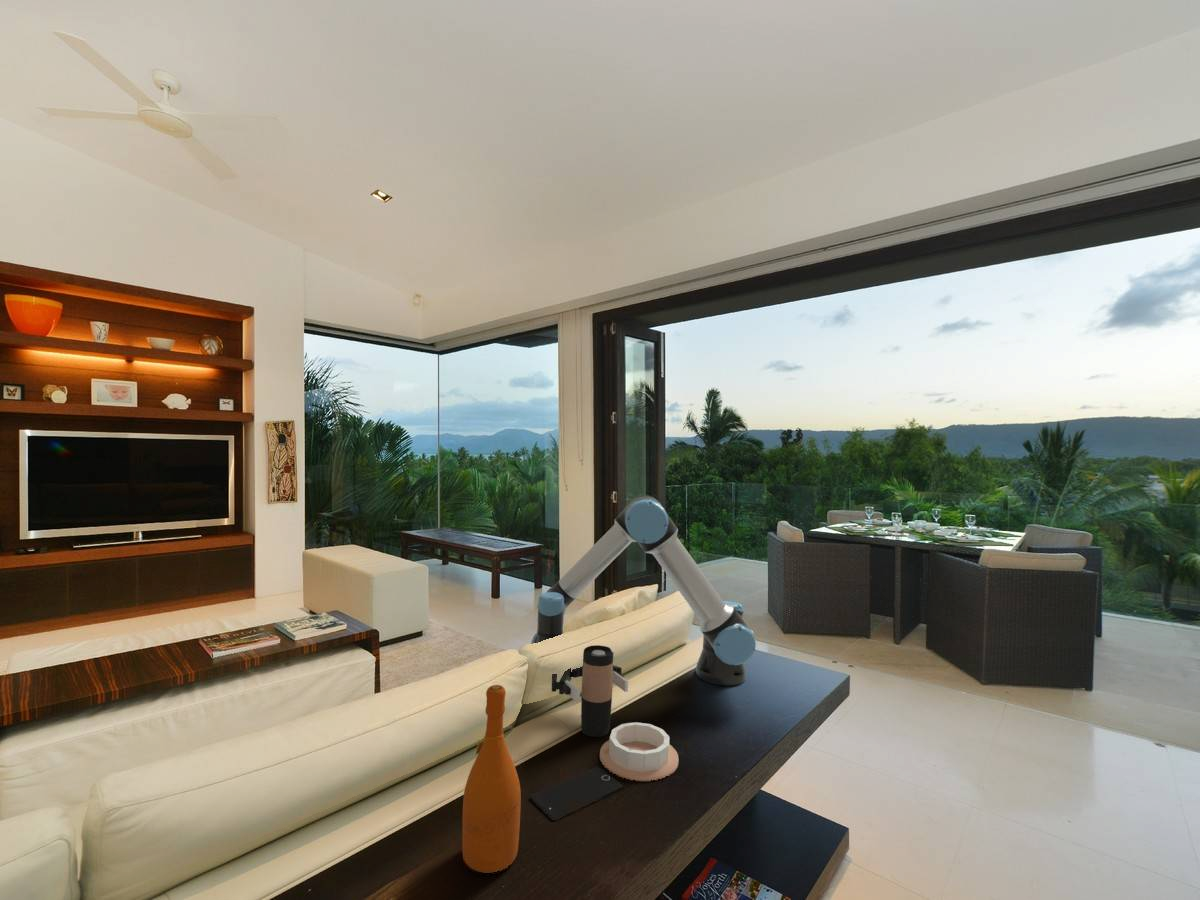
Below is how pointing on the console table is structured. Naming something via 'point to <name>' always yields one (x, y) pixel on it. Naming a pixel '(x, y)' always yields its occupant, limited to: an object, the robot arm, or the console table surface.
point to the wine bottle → (492, 797)
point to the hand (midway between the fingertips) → (603, 691)
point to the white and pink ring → (639, 752)
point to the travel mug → (596, 690)
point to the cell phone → (590, 780)
